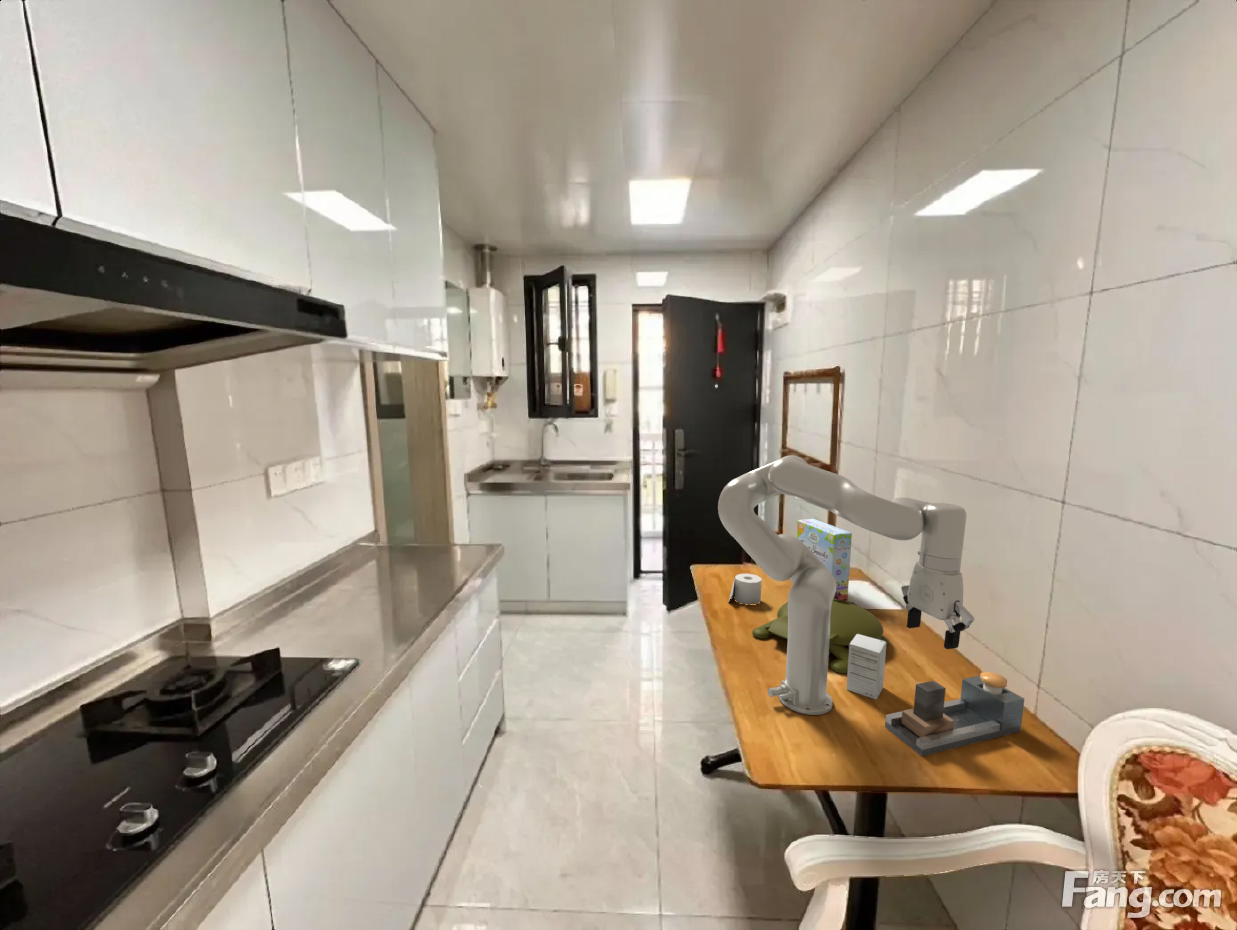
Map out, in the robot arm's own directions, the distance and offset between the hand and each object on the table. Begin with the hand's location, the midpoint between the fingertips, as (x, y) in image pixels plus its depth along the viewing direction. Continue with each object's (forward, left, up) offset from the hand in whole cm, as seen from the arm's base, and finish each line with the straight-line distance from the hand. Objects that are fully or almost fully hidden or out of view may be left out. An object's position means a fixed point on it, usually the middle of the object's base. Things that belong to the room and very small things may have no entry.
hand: (931, 637), depth 113 cm
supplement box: (0, +18, -23) cm, 29 cm away
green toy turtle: (+9, +45, -23) cm, 52 cm away
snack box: (+32, +77, -23) cm, 87 cm away
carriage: (0, -1, -21) cm, 21 cm away
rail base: (+7, -1, -23) cm, 24 cm away
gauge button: (+18, -1, -20) cm, 27 cm away
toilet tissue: (0, +77, -23) cm, 80 cm away
